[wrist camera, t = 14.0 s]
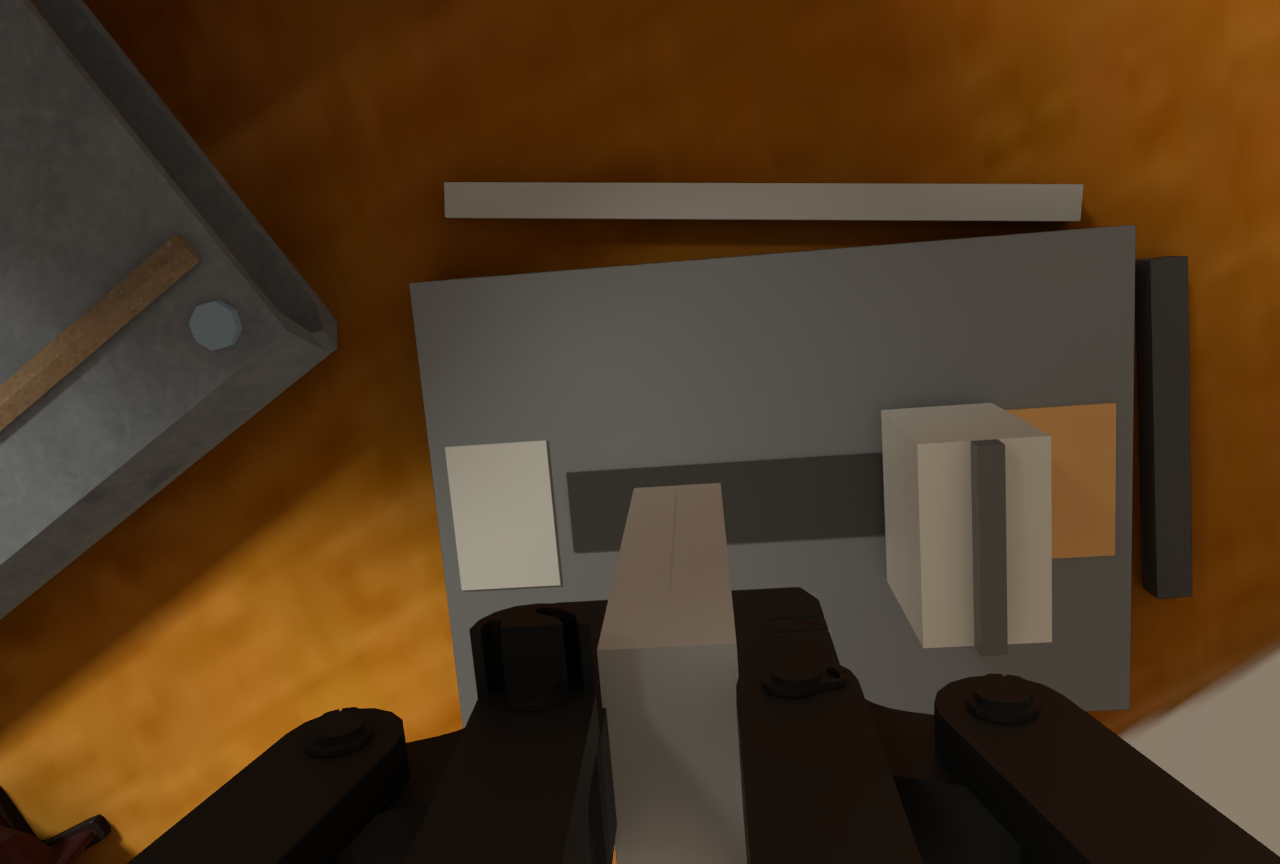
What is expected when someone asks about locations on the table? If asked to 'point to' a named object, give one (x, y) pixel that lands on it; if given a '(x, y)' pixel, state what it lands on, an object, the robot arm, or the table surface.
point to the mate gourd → (17, 860)
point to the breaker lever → (969, 525)
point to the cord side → (1164, 424)
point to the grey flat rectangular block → (785, 430)
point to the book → (119, 295)
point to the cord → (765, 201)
